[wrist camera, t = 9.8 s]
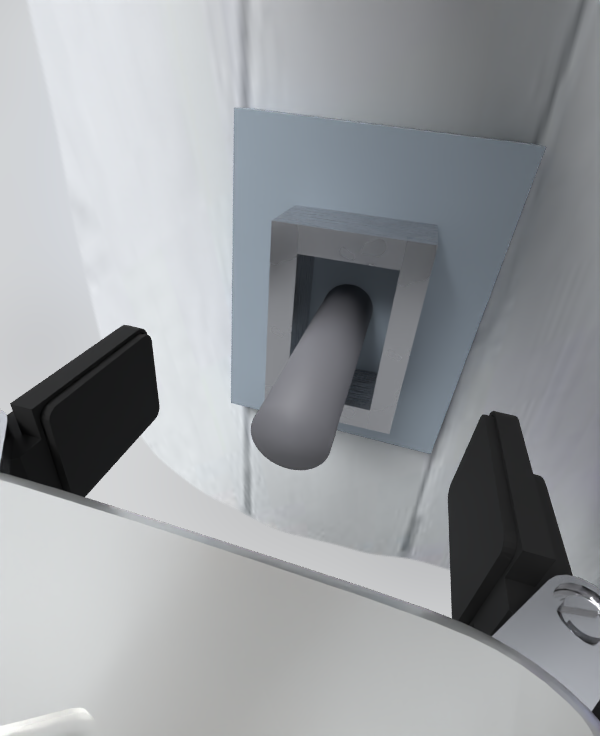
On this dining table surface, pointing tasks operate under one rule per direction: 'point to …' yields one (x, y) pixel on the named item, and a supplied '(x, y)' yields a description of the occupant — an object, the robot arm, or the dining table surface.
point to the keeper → (365, 268)
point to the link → (356, 245)
